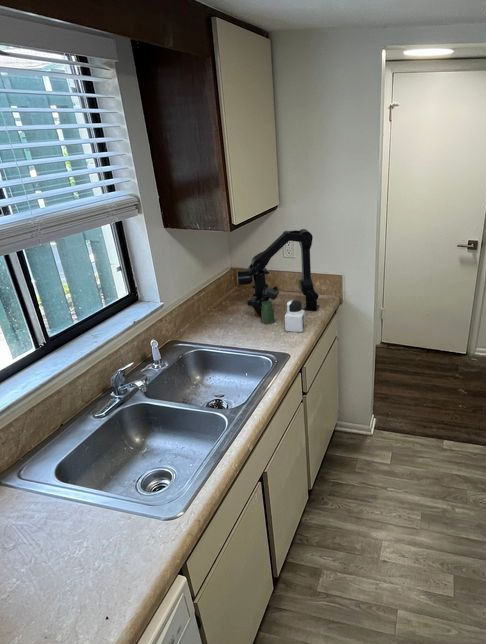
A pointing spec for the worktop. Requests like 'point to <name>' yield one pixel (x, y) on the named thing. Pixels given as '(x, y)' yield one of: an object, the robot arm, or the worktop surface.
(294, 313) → the container
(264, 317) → the jam jar
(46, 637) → the worktop surface
